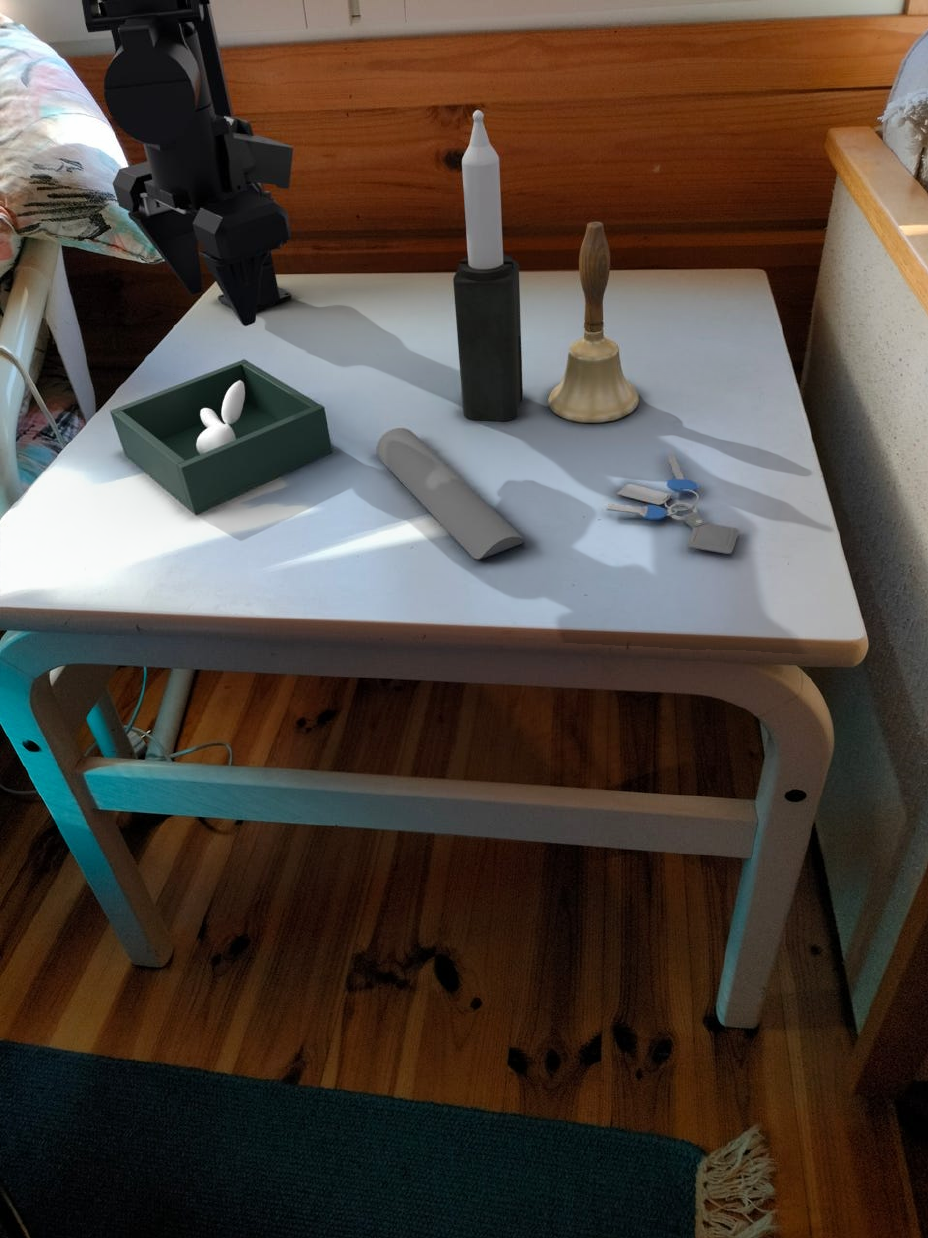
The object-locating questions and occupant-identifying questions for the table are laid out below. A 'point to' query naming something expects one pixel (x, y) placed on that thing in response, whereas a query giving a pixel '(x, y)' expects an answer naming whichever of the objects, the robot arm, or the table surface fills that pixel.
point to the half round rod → (446, 495)
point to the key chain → (702, 532)
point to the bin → (263, 450)
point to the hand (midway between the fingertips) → (222, 308)
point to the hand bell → (593, 349)
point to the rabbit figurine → (216, 429)
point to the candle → (487, 293)
